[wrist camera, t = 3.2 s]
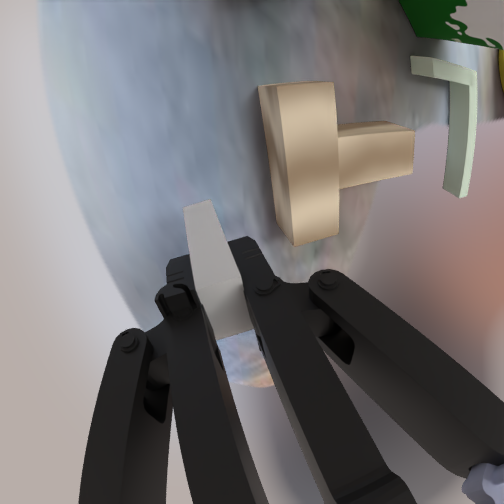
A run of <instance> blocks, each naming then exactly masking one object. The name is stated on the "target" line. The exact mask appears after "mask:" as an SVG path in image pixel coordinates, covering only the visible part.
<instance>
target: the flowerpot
mask: <svg viewBox="0 0 504 504" xmlns="http://www.w3.org/2000/svg"><path fill="white" fill-rule="evenodd" d="M499 72H500V79H501V84H502V88H503V92H504V50H500V49H499Z"/></svg>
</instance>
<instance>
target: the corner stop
mask: <svg viewBox="0 0 504 504" xmlns="http://www.w3.org/2000/svg"><path fill="white" fill-rule="evenodd" d="M410 60H411V73H412V74H415V75H421V76H427V77H433V78H438V79H443V80H448V81H449V87H450V114H449V136H448V149H447V160H446V168H445V176H444V183H443V189H445V190H446V191H448V192H450V193H452V194H453V195H455V196H456V197H458V198H462V197H465V196H467V193H468V188H469V182H470V176H471V170H472V163H473V155H474V147H475V137H476V123H477V71H474V70H471V69H468V68H465V67H462V66H459V65H456V64H453V63H450V62H447V61H443V60H440V59H436V58H432V57H421V56H410Z"/></svg>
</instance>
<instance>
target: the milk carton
mask: <svg viewBox="0 0 504 504" xmlns="http://www.w3.org/2000/svg"><path fill="white" fill-rule="evenodd" d="M399 2H400V4H401V5H402V7H403V9H404V11H405V13H406V15H407V17H408V19H409V21H410V23H411V25H412V27H413V29H414V31H415V34H416V36H417V37H425V38H434V39H442V40H449V41H455V42H460V43H466V44H473V45H479V46H485V47H491V48H496V49H500V50H504V0H399Z"/></svg>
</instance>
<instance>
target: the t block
mask: <svg viewBox="0 0 504 504" xmlns="http://www.w3.org/2000/svg"><path fill="white" fill-rule="evenodd" d="M258 93H259V99H260V105H261V112H262V118H263V125H264V132H265V138H266V145H267V152H268V159H269V167H270V174H271V181H272V189H273V197H274V205H275V213H276V221H277V224H278V226H279V227H280V228H281V230H282V231H283V232H284V234H285V235H286V237H287V238H288V239H289V241H290V242H291V243H292V245H293V246H294V247H296V246H299V245H303V244H306V243H309V242H313V241H316V240H319V239H323V238H326V237H329V236H333V235H336V234H339V189H343V188H347V187H351V186H356V185H360V184H365V183H370V182H374V181H379V180H384V179H389V178H394V177H399V176H403V175H408V174H412V170H413V158H414V157H413V156H414V140H415V131H414V130H411V129H408V128H406V127H403V126H400V125H396V124H393V123H390V122H387V121H375V122H361V123H349V124H339V125H337V116H336V103H335V92H334V82H322V81H299V82H287V83H277V84H269V85H261V86H258Z"/></svg>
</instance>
